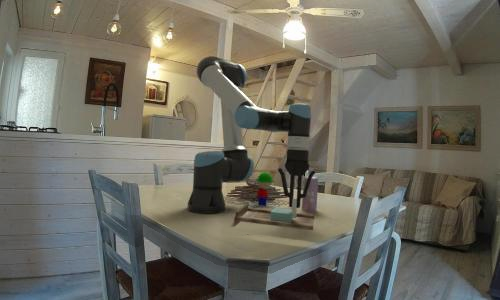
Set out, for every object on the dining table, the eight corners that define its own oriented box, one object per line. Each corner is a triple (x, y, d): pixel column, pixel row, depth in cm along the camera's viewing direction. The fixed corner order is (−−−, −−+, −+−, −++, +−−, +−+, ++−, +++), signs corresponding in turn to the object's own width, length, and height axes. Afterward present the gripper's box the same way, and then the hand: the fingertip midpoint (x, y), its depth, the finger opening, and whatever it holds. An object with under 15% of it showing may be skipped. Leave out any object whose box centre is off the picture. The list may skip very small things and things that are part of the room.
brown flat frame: (234, 224, 99) (234, 212, 99) (246, 213, 115) (246, 203, 115) (312, 234, 93) (313, 221, 93) (314, 221, 109) (314, 210, 108)
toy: (267, 208, 126) (269, 173, 126) (251, 205, 130) (253, 172, 130) (275, 206, 133) (277, 172, 132) (260, 203, 137) (262, 171, 136)
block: (270, 220, 101) (270, 211, 101) (273, 215, 108) (273, 207, 108) (290, 222, 99) (291, 214, 99) (292, 218, 106) (293, 209, 106)
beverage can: (315, 212, 124) (317, 176, 124) (317, 215, 119) (319, 178, 118) (301, 211, 125) (303, 175, 125) (302, 214, 119) (304, 177, 119)
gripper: (277, 148, 100) (273, 217, 100) (316, 150, 97) (312, 221, 97) (280, 148, 107) (276, 212, 108) (317, 150, 104) (313, 216, 105)
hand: (293, 216), depth 102 cm, fingers closed
